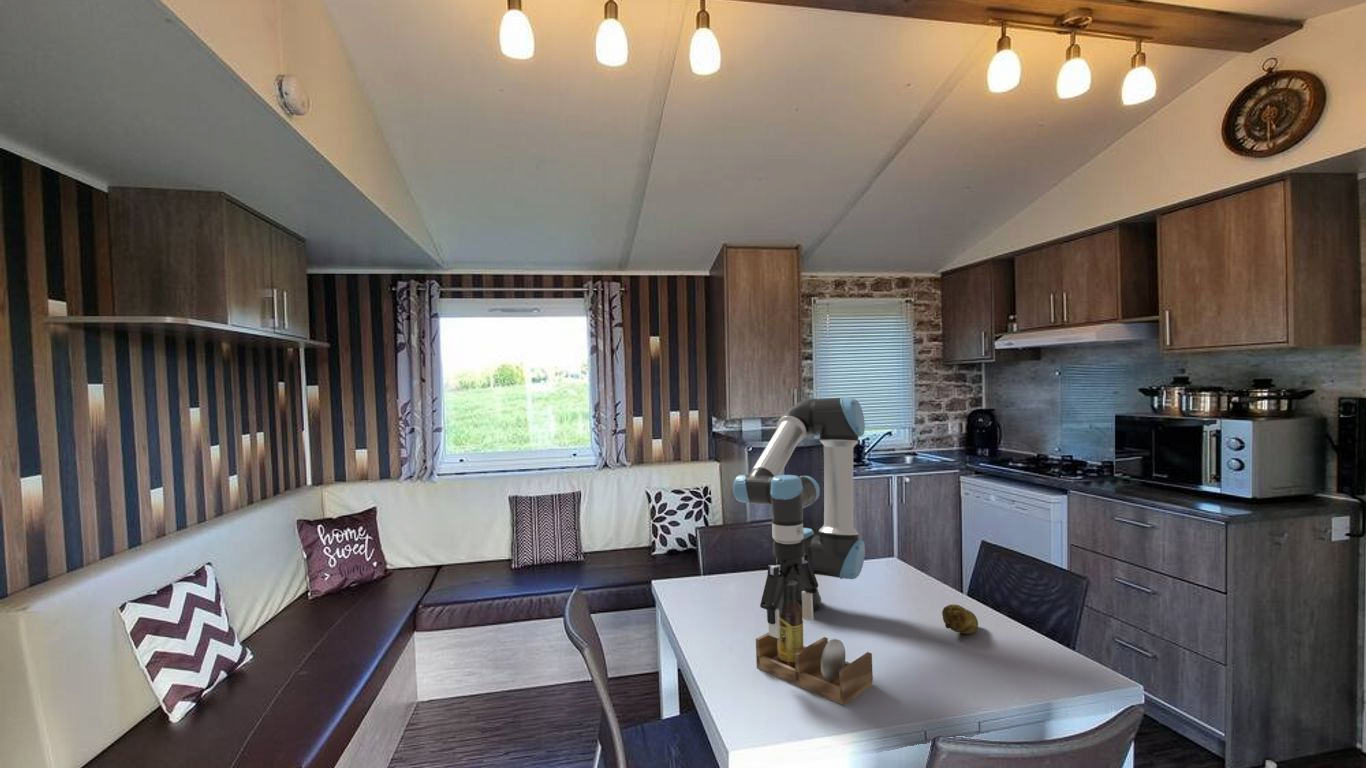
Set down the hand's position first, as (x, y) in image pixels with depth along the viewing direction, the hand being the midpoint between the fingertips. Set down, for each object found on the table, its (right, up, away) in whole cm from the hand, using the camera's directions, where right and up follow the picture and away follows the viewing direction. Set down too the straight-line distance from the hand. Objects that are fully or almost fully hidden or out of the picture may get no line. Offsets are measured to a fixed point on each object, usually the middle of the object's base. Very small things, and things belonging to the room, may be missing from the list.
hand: (791, 627), depth 137 cm
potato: (+49, -9, +16) cm, 53 cm away
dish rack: (+4, -9, -5) cm, 11 cm away
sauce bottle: (0, -9, 0) cm, 9 cm away
